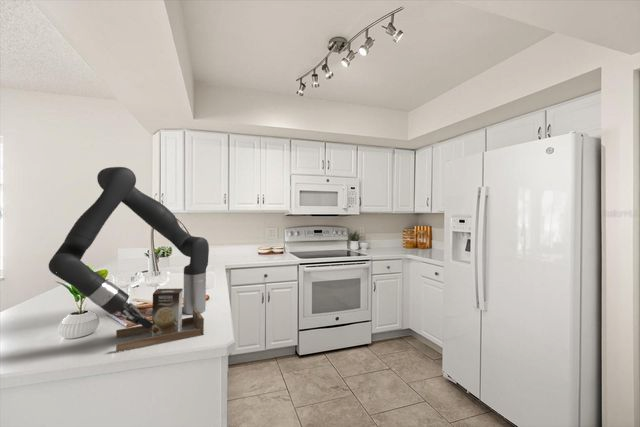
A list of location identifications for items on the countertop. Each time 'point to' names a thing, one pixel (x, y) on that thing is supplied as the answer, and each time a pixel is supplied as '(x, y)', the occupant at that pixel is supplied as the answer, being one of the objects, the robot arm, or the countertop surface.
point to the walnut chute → (195, 320)
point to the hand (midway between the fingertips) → (150, 326)
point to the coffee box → (167, 311)
